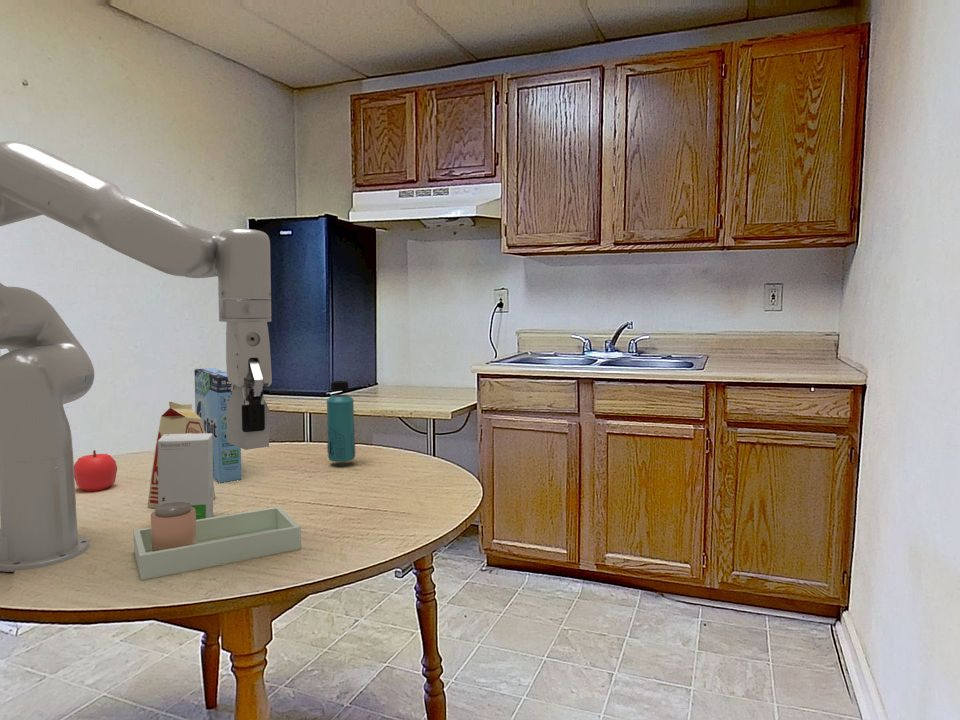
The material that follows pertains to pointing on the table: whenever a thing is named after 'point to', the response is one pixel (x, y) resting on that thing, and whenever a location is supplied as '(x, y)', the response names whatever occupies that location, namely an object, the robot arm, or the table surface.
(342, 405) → the beverage bottle
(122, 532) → the table surface
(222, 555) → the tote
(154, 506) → the milk carton
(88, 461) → the apple
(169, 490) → the skincare box
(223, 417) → the gum box
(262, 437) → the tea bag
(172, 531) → the jar
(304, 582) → the table surface
